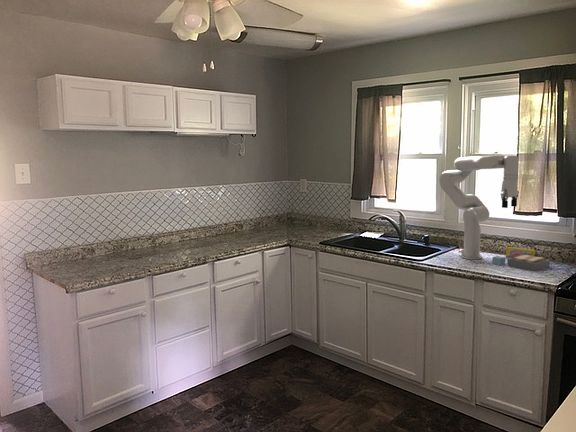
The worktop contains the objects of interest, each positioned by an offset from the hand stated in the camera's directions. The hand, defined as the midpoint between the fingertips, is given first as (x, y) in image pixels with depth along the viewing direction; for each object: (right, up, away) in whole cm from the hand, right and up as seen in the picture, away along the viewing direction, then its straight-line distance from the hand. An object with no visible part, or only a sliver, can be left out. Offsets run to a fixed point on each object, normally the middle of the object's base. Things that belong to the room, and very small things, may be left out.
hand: (509, 207), depth 285 cm
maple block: (+9, -34, -4) cm, 35 cm away
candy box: (+12, -33, +12) cm, 37 cm away
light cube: (-5, -34, +3) cm, 35 cm away
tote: (+9, -35, -4) cm, 36 cm away
